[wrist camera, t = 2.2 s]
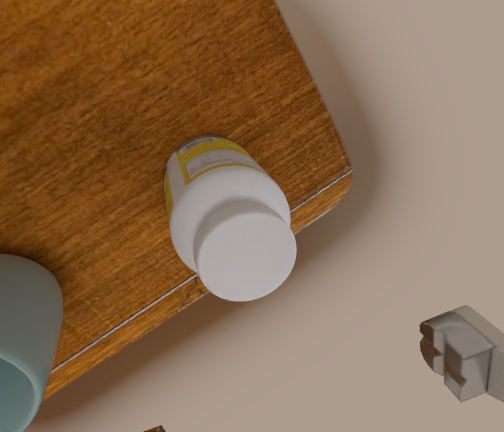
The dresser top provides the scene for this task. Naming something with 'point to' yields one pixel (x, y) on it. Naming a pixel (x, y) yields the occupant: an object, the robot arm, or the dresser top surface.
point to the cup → (26, 337)
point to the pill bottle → (228, 219)
